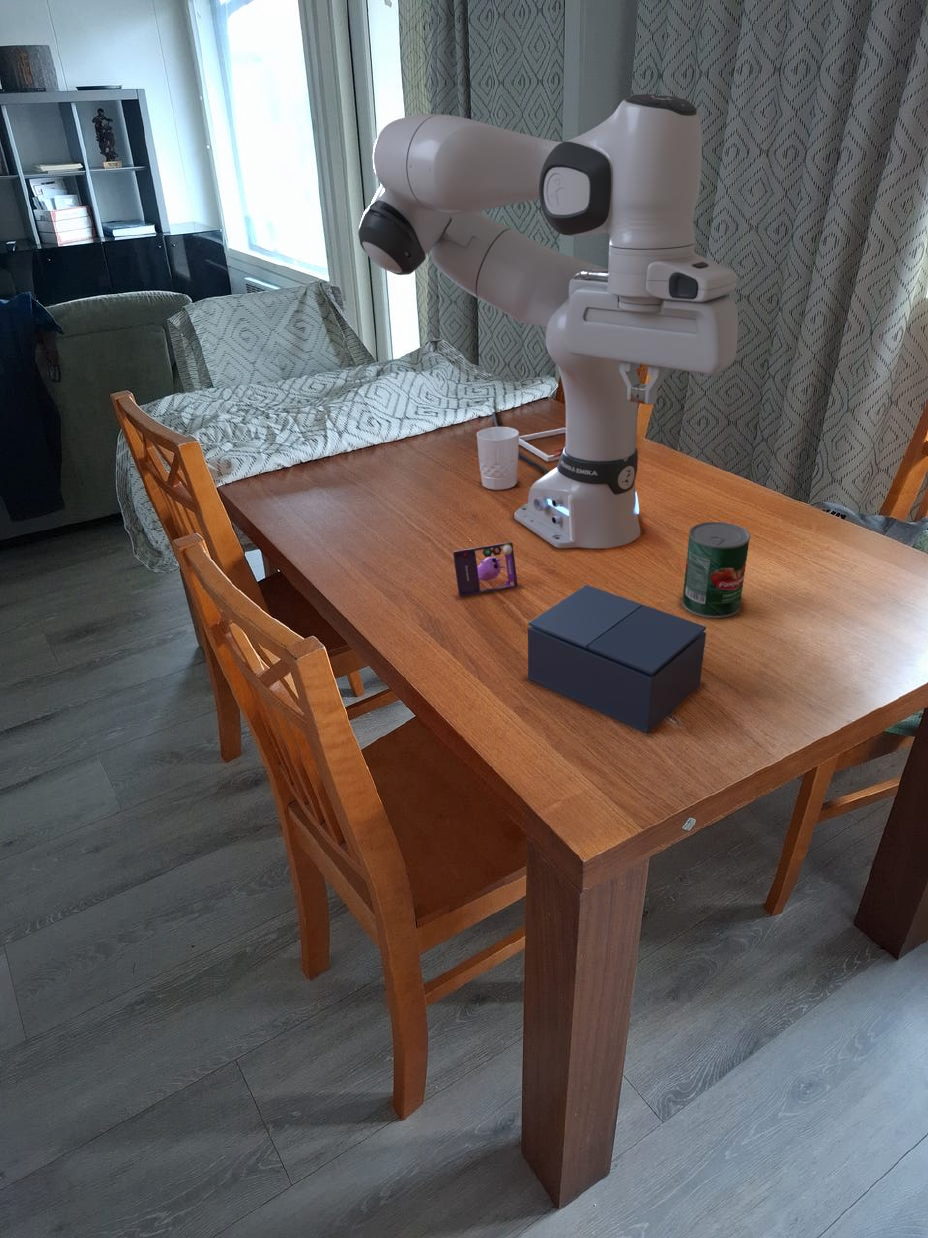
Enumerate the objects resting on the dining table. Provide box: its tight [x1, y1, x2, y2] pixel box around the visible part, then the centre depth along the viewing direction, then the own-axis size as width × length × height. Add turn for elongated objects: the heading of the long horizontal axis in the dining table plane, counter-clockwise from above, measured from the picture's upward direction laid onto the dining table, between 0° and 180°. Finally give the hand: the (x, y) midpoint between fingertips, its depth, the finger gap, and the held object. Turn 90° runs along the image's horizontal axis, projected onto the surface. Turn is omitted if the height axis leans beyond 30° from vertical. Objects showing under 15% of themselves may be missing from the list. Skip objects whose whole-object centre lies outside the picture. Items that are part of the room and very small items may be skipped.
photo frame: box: [519, 427, 566, 462], centre depth 176 cm, size 15×1×18 cm
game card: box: [452, 541, 518, 598], centre depth 123 cm, size 7×5×9 cm
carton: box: [527, 604, 707, 734], centre depth 99 cm, size 17×12×8 cm
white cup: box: [476, 426, 520, 491], centre depth 156 cm, size 8×8×10 cm
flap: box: [527, 584, 644, 648], centre depth 99 cm, size 8×12×1 cm
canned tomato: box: [681, 521, 751, 619], centre depth 113 cm, size 8×8×11 cm
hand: (641, 402), depth 95 cm, fingers closed
